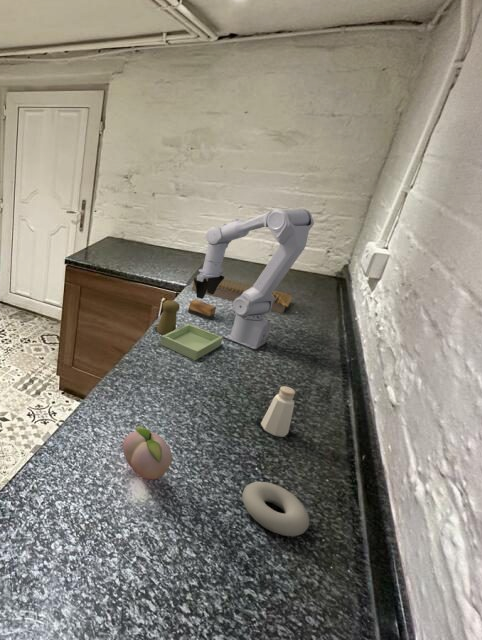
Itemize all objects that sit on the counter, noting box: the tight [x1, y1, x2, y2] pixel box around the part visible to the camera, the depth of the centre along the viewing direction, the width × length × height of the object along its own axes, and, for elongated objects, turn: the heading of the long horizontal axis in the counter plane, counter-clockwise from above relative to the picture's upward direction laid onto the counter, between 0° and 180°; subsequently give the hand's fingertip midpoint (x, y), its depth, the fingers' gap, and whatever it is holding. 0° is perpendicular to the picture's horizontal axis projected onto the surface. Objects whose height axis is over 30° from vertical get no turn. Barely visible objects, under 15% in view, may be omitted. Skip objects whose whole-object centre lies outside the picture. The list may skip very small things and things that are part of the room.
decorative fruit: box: [122, 426, 173, 480], centre depth 77 cm, size 9×8×10 cm
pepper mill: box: [156, 299, 180, 335], centre depth 133 cm, size 6×6×11 cm
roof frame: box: [190, 278, 294, 314], centre depth 165 cm, size 35×14×6 cm, turn 48°
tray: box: [160, 323, 224, 361], centre depth 126 cm, size 12×16×3 cm
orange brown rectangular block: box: [187, 299, 217, 321], centre depth 147 cm, size 8×4×4 cm, turn 37°
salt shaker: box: [260, 385, 296, 438], centre depth 89 cm, size 5×5×11 cm
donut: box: [241, 481, 310, 537], centre depth 70 cm, size 10×4×10 cm
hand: (205, 295), depth 145 cm, fingers open, 7 cm apart
